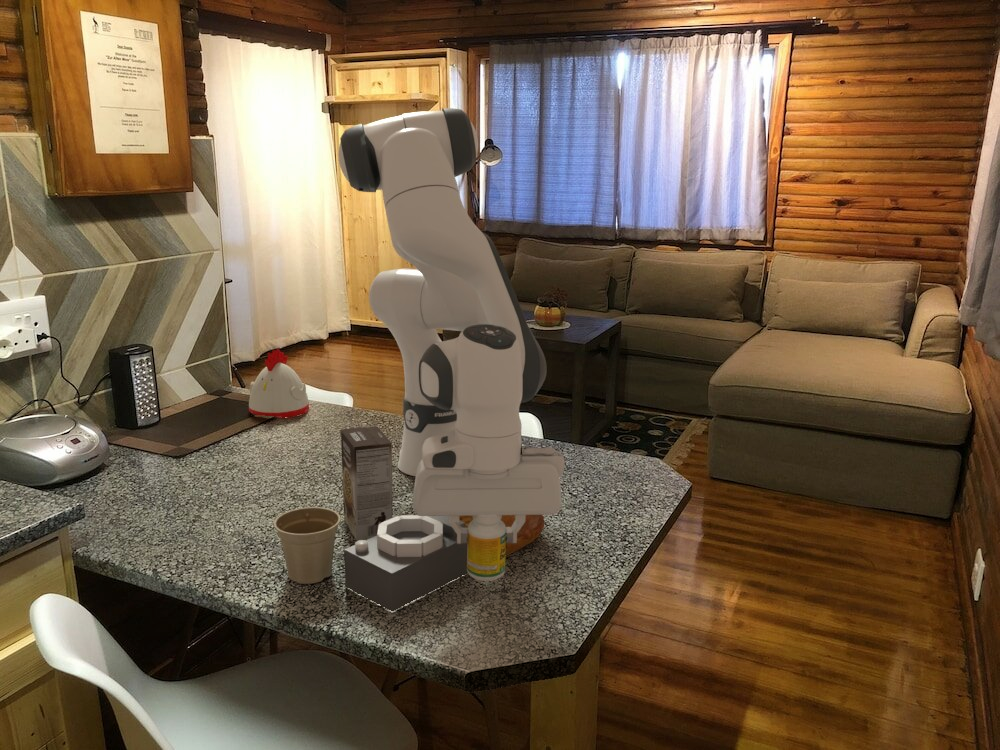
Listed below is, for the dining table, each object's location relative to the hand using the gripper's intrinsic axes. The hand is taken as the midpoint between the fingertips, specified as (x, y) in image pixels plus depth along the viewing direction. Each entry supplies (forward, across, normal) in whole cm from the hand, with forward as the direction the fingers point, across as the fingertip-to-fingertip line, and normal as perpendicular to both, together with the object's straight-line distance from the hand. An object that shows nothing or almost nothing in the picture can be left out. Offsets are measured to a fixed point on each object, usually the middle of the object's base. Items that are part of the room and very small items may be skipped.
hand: (486, 541), depth 112 cm
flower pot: (+8, +26, -7) cm, 28 cm away
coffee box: (+8, +18, -22) cm, 30 cm away
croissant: (+9, -3, -18) cm, 20 cm away
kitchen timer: (+9, +45, -88) cm, 99 cm away
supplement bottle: (+5, 0, 0) cm, 5 cm away
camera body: (+8, +11, -5) cm, 14 cm away
